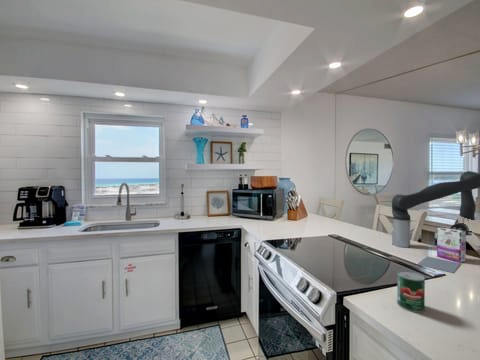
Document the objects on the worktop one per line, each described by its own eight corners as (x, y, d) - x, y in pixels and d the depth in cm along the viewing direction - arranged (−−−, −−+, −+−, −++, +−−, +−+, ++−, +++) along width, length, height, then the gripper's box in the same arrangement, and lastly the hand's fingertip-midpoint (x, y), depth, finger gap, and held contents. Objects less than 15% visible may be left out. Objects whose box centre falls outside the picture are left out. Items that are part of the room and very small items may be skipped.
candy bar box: (466, 261, 126) (466, 231, 126) (460, 263, 124) (460, 231, 124) (442, 255, 137) (442, 226, 136) (436, 256, 135) (436, 227, 134)
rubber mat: (417, 264, 123) (417, 263, 123) (427, 256, 134) (427, 256, 134) (453, 273, 112) (453, 272, 112) (460, 264, 123) (460, 263, 123)
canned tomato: (412, 300, 88) (413, 270, 87) (430, 312, 80) (431, 279, 79) (391, 300, 87) (392, 270, 87) (407, 312, 79) (408, 280, 79)
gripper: (446, 221, 151) (439, 225, 140) (475, 224, 140) (470, 228, 129) (446, 233, 151) (439, 237, 140) (475, 237, 140) (469, 242, 130)
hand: (454, 233), depth 135 cm, fingers closed
